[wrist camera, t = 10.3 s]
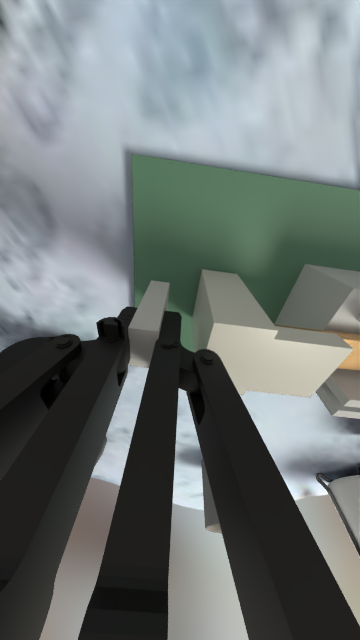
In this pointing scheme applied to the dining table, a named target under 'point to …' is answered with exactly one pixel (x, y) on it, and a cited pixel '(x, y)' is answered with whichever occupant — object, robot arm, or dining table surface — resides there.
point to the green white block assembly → (253, 249)
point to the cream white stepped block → (260, 341)
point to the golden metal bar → (356, 358)
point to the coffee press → (346, 503)
